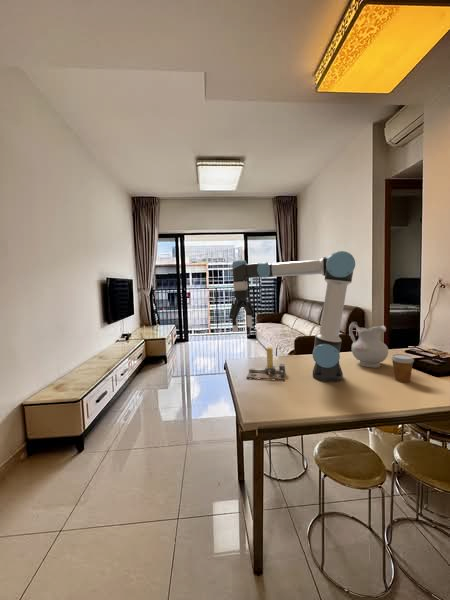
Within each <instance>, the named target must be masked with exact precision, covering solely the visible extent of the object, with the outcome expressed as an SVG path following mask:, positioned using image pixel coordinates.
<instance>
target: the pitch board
mask: <svg viewBox="0 0 450 600" xmlns="http://www.w3.org/2000/svg"><path fill="white" fill-rule="evenodd" d="M247 378H260V379H275V380H274V381H279V380H285V379H286V364H285V363H279V368H278V369H276V368H275V373H270V376H269V375H268V373H266V370H265V368H251V367H250V368H249V369H248V373H247V375H246V379H247ZM260 379H259V380H260Z"/></svg>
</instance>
